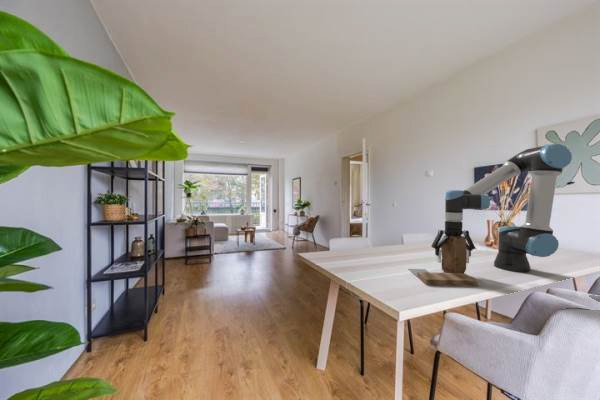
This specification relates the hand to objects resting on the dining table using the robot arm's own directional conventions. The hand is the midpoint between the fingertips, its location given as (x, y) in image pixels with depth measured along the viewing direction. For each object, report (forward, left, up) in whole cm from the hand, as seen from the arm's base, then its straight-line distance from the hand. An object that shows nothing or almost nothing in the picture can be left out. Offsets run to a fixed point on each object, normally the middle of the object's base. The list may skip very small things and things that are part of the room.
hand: (452, 262), depth 124 cm
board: (+9, +12, -6) cm, 16 cm away
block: (0, 0, -6) cm, 6 cm away
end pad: (+15, 0, -6) cm, 16 cm away
